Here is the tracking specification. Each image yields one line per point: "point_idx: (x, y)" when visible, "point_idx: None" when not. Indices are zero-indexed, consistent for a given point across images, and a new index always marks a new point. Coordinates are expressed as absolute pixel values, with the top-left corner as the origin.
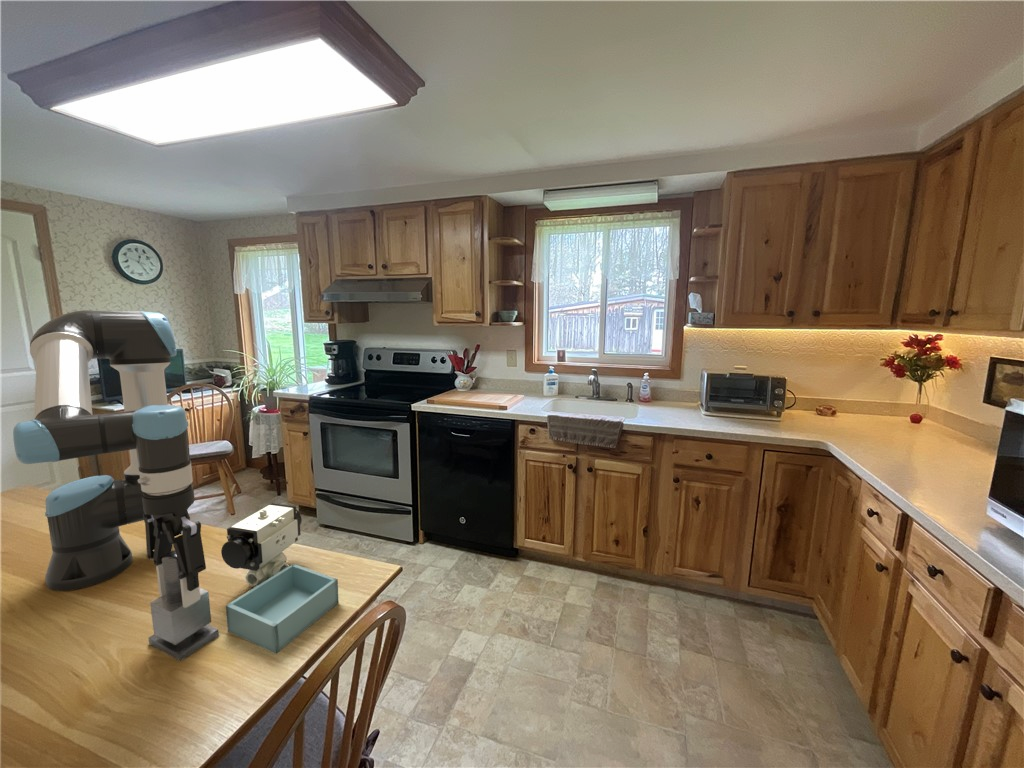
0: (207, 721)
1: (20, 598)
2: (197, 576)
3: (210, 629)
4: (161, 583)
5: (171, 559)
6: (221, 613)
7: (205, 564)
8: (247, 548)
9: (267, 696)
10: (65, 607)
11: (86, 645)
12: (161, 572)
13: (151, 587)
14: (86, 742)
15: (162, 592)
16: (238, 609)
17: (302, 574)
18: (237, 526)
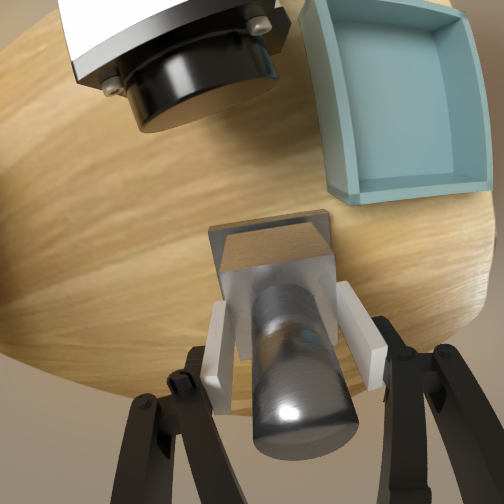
0: (458, 295)
1: None
2: (402, 343)
3: (313, 223)
4: (232, 362)
5: (333, 446)
6: (248, 169)
7: (461, 356)
8: (266, 58)
9: (492, 234)
10: (25, 326)
11: (142, 347)
12: (229, 388)
13: (35, 231)
14: (358, 381)
15: (233, 342)
16: (394, 196)
17: (359, 4)
18: (100, 30)
